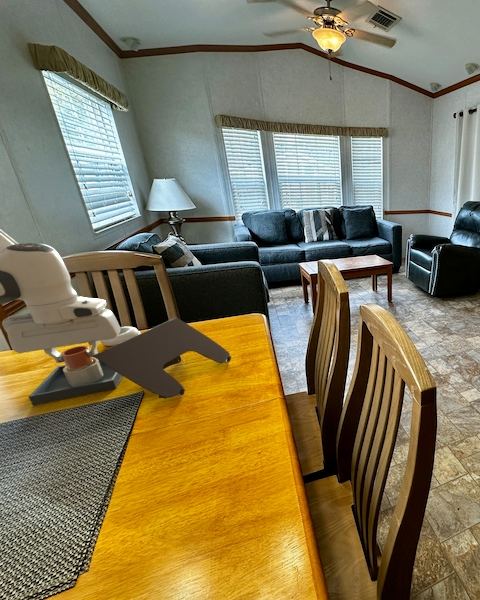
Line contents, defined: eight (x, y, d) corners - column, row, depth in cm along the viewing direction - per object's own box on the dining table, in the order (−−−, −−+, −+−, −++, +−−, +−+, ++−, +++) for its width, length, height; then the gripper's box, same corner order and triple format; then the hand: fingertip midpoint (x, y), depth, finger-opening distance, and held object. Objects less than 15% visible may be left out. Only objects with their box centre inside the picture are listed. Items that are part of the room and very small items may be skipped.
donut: (143, 331, 114) (108, 336, 111) (141, 322, 113) (105, 327, 109) (135, 344, 106) (96, 350, 102) (132, 335, 104) (92, 340, 101)
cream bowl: (64, 389, 83) (57, 374, 81) (76, 375, 89) (70, 361, 87) (98, 383, 86) (92, 368, 84) (107, 369, 91) (102, 355, 90)
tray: (32, 405, 78) (28, 396, 77) (61, 374, 90) (57, 366, 89) (116, 388, 84) (112, 380, 83) (132, 361, 96) (129, 353, 96)
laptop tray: (166, 423, 81) (170, 399, 77) (91, 375, 82) (91, 349, 78) (234, 371, 101) (240, 350, 97) (173, 334, 103) (176, 311, 99)
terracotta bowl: (63, 371, 82) (57, 357, 81) (72, 361, 87) (66, 348, 85) (88, 366, 84) (82, 353, 83) (96, 357, 89) (91, 344, 87)
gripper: (-11, 322, 73) (17, 374, 78) (104, 307, 81) (122, 356, 86) (7, 312, 78) (31, 361, 84) (112, 299, 86) (129, 345, 91)
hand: (78, 358), depth 85 cm, fingers closed on terracotta bowl, 5 cm apart
